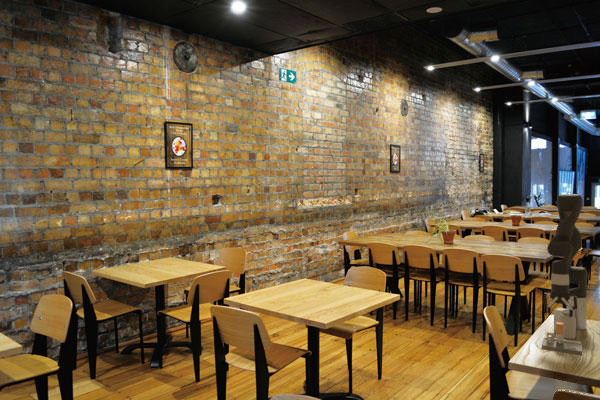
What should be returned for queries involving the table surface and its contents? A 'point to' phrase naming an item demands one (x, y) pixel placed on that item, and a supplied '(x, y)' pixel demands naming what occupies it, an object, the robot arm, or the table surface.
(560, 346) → the gauge board
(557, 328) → the divider leg
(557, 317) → the skincare box
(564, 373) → the table surface
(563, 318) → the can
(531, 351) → the table surface
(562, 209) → the robot arm
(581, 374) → the table surface
